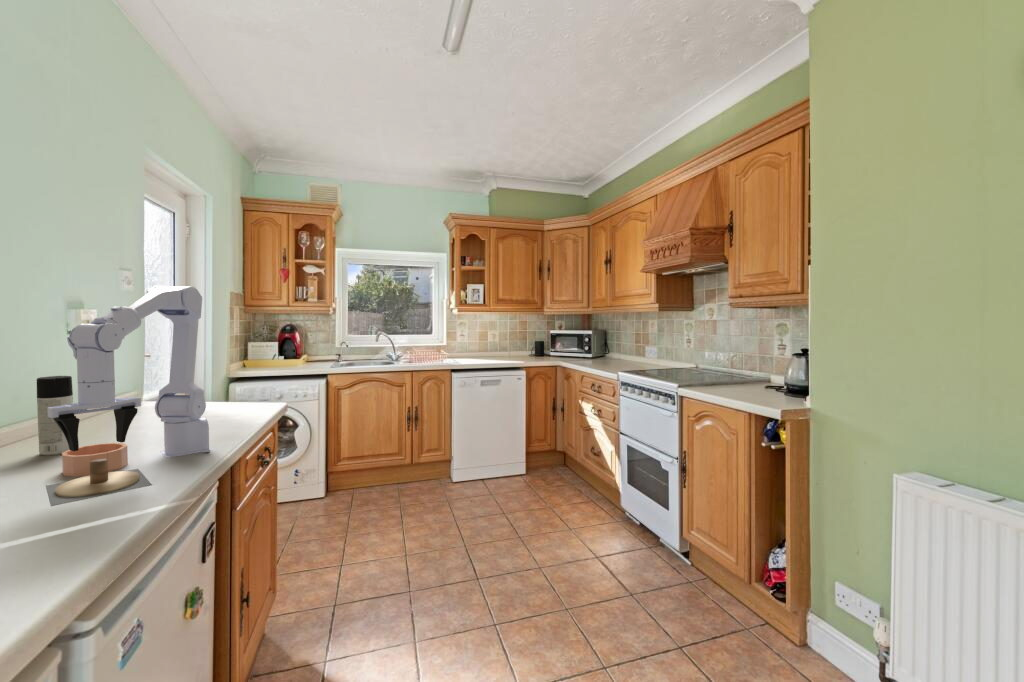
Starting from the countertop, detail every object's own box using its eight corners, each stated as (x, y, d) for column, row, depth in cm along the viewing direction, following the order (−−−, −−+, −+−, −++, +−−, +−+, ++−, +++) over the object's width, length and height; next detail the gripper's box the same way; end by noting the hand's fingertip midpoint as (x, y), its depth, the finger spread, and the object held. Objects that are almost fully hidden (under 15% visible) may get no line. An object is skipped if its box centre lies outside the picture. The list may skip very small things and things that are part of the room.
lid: (133, 470, 104) (132, 448, 104) (145, 484, 96) (144, 460, 95) (53, 485, 95) (52, 461, 94) (58, 502, 86) (57, 475, 86)
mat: (138, 471, 106) (138, 468, 106) (152, 487, 96) (152, 484, 96) (46, 488, 94) (46, 485, 94) (51, 508, 85) (51, 505, 84)
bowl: (122, 460, 114) (122, 440, 113) (131, 470, 106) (130, 449, 106) (61, 470, 105) (60, 449, 105) (65, 482, 98) (64, 459, 98)
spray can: (80, 450, 121) (78, 376, 121) (48, 457, 115) (45, 379, 114) (65, 447, 124) (63, 374, 123) (32, 454, 117) (29, 377, 116)
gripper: (129, 376, 102) (131, 435, 103) (40, 383, 90) (42, 451, 90) (145, 378, 99) (146, 440, 100) (54, 386, 86) (57, 456, 87)
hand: (98, 445), depth 95 cm, fingers open, 7 cm apart
